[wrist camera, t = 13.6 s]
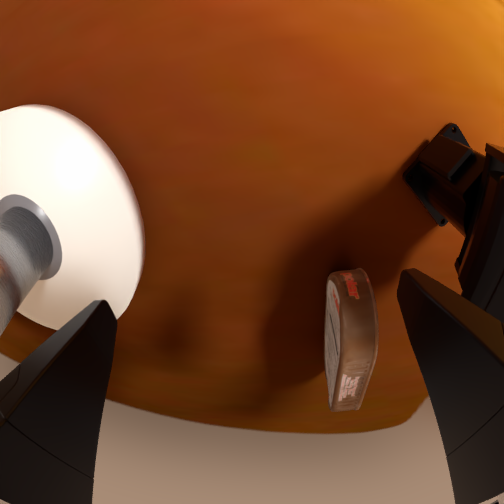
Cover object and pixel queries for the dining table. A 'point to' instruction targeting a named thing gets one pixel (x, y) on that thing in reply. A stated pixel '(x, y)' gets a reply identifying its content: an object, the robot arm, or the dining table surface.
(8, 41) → the dining table surface
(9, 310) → the grey metal cylinder
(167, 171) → the dining table surface
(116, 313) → the turntable
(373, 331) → the tin
